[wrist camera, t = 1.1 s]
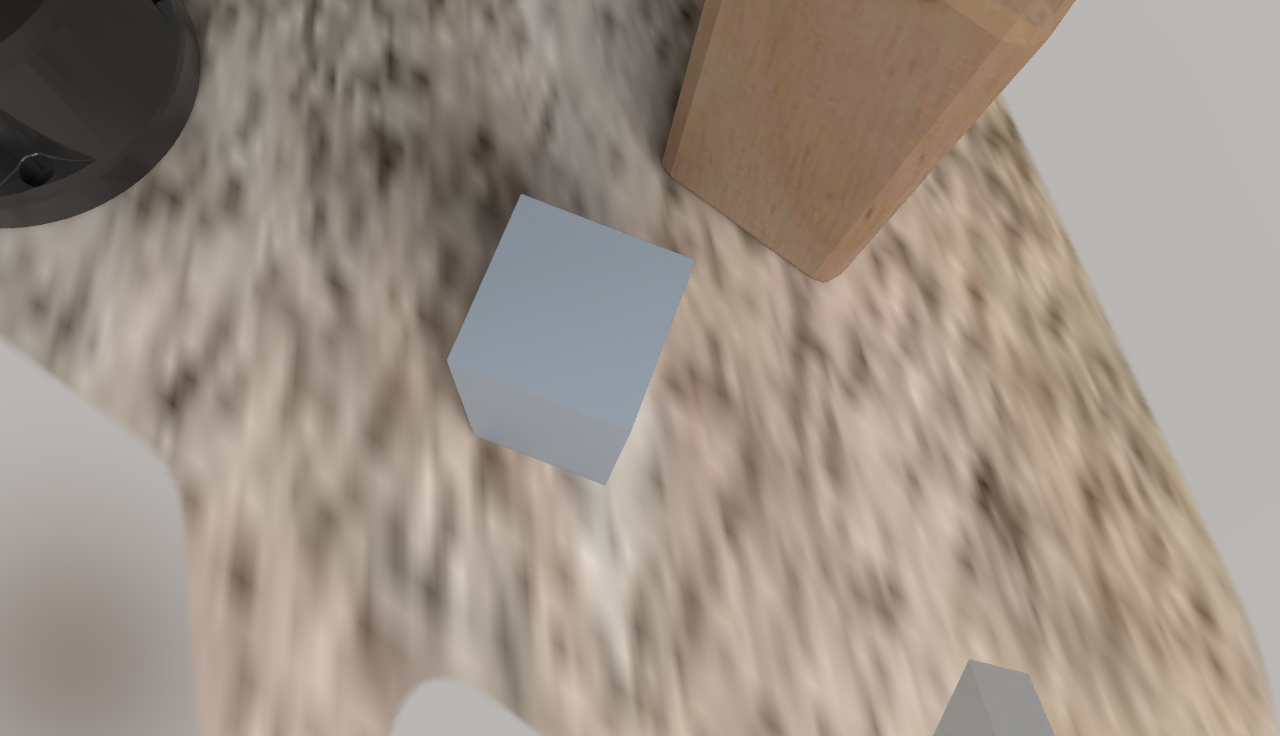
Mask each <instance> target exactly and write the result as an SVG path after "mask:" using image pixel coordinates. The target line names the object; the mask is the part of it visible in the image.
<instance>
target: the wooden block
mask: <svg viewBox="0 0 1280 736" xmlns="http://www.w3.org/2000/svg"><path fill="white" fill-rule="evenodd" d="M1074 2H1075V0H705V3H704V7H703V10H702V14H701V18H700V22H699V25H698V29H697V33H696V37H695V40H694V44H693V48H692V51H691V55H690V59H689V63H688V66H687V70H686V74H685V78H684V81H683V85H682V89H681V92H680V96H679V100H678V104H677V107H676V111H675V115H674V119H673V122H672V126H671V130H670V134H669V137H668V141H667V145H666V148H665V152H664V156H663V160H662V164H663V166H664V168H665V169H666V171H667V172H668V173H669V175H670V176H671V177H672V178H673V179H674V180H676V181H677V182H678V183H680V184H681V185H683V186H684V187H685V188H687V189H688V190H690V191H691V192H692V193H694V194H695V195H696V196H698V197H699V198H701V199H702V200H703V201H705V202H706V203H708V204H709V205H710V206H712V207H713V208H714V209H716V210H717V211H719V212H720V213H721V214H723V215H724V216H726V217H727V218H728V219H730V220H731V221H732V222H734V223H735V224H737V225H738V226H739V227H741V228H742V229H744V230H745V231H746V232H748V233H749V234H750V235H752V236H753V237H755V238H756V239H757V240H759V241H760V242H762V243H763V244H764V245H766V246H767V247H768V248H770V249H771V250H773V251H774V252H775V253H777V254H778V255H780V256H781V257H782V258H784V259H785V260H786V261H788V262H789V263H791V264H792V265H793V266H795V267H796V268H798V269H799V270H800V271H802V272H803V273H804V274H806V275H807V276H809V277H810V278H812V279H815V280H818V281H821V282H828V281H830V280H831V279H833V278H835V277H837V276H838V275H840V274H842V272H843V271H844V270H845V269H846V268H847V267H848V266H849V264H850V263H851V262H852V261H853V260H854V259H855V258H856V257H857V255H858V254H859V253H860V252H861V251H862V250H863V249H864V247H865V246H866V245H867V244H868V243H869V242H870V241H871V239H872V238H873V237H874V236H875V235H876V234H877V233H878V232H879V230H880V229H881V228H882V227H883V226H884V225H885V224H886V222H887V221H888V220H889V219H890V218H891V217H892V216H893V214H894V213H895V212H896V211H897V210H898V209H899V208H900V207H901V205H902V204H903V203H904V202H905V201H906V200H907V199H908V197H909V196H910V195H911V194H912V193H913V192H914V191H915V189H916V188H917V187H918V186H919V185H920V184H921V183H922V181H923V180H924V179H925V178H926V177H927V176H928V175H929V174H930V172H931V171H932V170H933V169H934V168H935V167H936V166H937V164H938V163H939V162H940V161H941V160H942V159H943V158H944V156H945V155H946V154H947V153H948V152H949V151H950V150H951V149H952V147H953V146H954V145H955V144H956V143H957V142H958V141H959V139H960V138H961V137H962V136H963V135H964V134H965V133H966V131H967V130H968V129H969V128H970V127H971V126H972V125H973V124H974V122H975V121H976V120H977V119H978V118H979V117H980V116H981V114H982V113H983V112H984V111H985V110H986V109H987V108H988V106H989V105H990V104H991V103H992V102H993V101H994V100H995V99H996V97H997V96H998V95H999V94H1000V93H1001V92H1002V91H1003V89H1004V88H1005V87H1006V86H1007V85H1008V84H1009V83H1010V81H1011V80H1012V79H1013V78H1014V77H1015V76H1016V75H1017V73H1018V72H1019V71H1020V70H1021V69H1022V68H1023V67H1024V66H1025V64H1026V63H1027V62H1028V61H1029V60H1030V59H1031V58H1032V56H1033V55H1034V54H1035V53H1036V52H1037V51H1038V49H1039V48H1040V47H1041V46H1042V45H1043V44H1044V43H1045V42H1046V40H1047V39H1048V38H1049V37H1050V36H1051V34H1052V33H1053V31H1054V30H1055V29H1056V27H1057V26H1058V24H1059V23H1060V22H1061V20H1062V19H1063V17H1064V16H1065V14H1066V13H1067V12H1068V10H1069V9H1070V8H1071V6H1072V5H1073V3H1074Z"/></svg>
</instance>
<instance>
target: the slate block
mask: <svg viewBox="0 0 1280 736" xmlns="http://www.w3.org/2000/svg"><path fill="white" fill-rule="evenodd" d="M694 262H695V260H693V259H691V258H688V257H686V256H683V255H680V254H678V253H675V252H672V251H670V250H667V249H665V248H662V247H659V246H657V245H654V244H651V243H649V242H646V241H644V240H641V239H638V238H636V237H633V236H631V235H628V234H625V233H623V232H620V231H617V230H615V229H612V228H610V227H607V226H604V225H602V224H599V223H597V222H594V221H591V220H589V219H586V218H583V217H581V216H578V215H576V214H573V213H570V212H568V211H565V210H563V209H560V208H557V207H555V206H552V205H549V204H547V203H544V202H542V201H539V200H536V199H534V198H531V197H529V196H526V195H523V194H521V195H520V198H519V200H518V202H517V204H516V207H515V209H514V211H513V213H512V216H511V218H510V220H509V222H508V225H507V227H506V229H505V231H504V234H503V236H502V238H501V240H500V242H499V245H498V247H497V249H496V251H495V254H494V256H493V258H492V260H491V263H490V265H489V267H488V269H487V272H486V274H485V276H484V278H483V280H482V283H481V285H480V287H479V289H478V292H477V294H476V296H475V298H474V301H473V303H472V305H471V307H470V310H469V312H468V314H467V316H466V319H465V321H464V323H463V325H462V327H461V330H460V332H459V334H458V336H457V339H456V341H455V343H454V345H453V348H452V350H451V352H450V354H449V357H448V359H447V362H448V365H449V368H450V371H451V373H452V376H453V379H454V381H455V384H456V387H457V390H458V392H459V395H460V398H461V400H462V403H463V406H464V409H465V411H466V414H467V417H468V419H469V422H470V425H471V428H472V430H473V433H474V435H475V436H477V437H480V438H483V439H485V440H488V441H490V442H493V443H496V444H498V445H501V446H504V447H506V448H509V449H511V450H514V451H517V452H519V453H522V454H525V455H527V456H530V457H532V458H535V459H538V460H540V461H543V462H546V463H548V464H551V465H553V466H556V467H559V468H561V469H564V470H567V471H569V472H572V473H574V474H577V475H580V476H582V477H585V478H588V479H590V480H593V481H595V482H598V483H601V484H603V485H605V484H606V482H607V480H608V478H609V476H610V474H611V472H612V470H613V468H614V466H615V463H616V461H617V459H618V457H619V455H620V453H621V451H622V449H623V447H624V445H625V443H626V440H627V438H628V436H629V434H630V432H631V430H632V427H633V425H634V422H635V419H636V417H637V414H638V411H639V409H640V406H641V403H642V401H643V398H644V395H645V393H646V390H647V387H648V385H649V382H650V379H651V377H652V374H653V371H654V369H655V366H656V363H657V361H658V358H659V355H660V353H661V350H662V347H663V345H664V342H665V339H666V337H667V334H668V331H669V329H670V326H671V323H672V321H673V318H674V315H675V313H676V310H677V307H678V305H679V302H680V299H681V297H682V294H683V291H684V289H685V286H686V283H687V281H688V278H689V275H690V273H691V270H692V267H693V265H694Z"/></svg>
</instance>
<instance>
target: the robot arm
mask: <svg viewBox="0 0 1280 736" xmlns="http://www.w3.org/2000/svg"><path fill="white" fill-rule="evenodd" d="M199 71H200V57H199V48H198V42H197V37H196V33H195V30H194V27H193V24H192V21H191V19H190V16H189V14H188V12H187V10H186V8H185V6H184V5H183V3H182V1H181V0H0V228H18V227H28V226H35V225H41V224H46V223H51V222H55V221H59V220H63V219H66V218H69V217H72V216H75V215H78V214H81V213H83V212H86V211H88V210H91V209H93V208H95V207H97V206H99V205H101V204H103V203H105V202H107V201H109V200H111V199H113V198H114V197H116V196H118V195H119V194H121V193H122V192H124V191H125V190H127V189H128V188H130V187H131V186H132V185H134V184H135V183H136V182H138V181H139V180H140V179H141V178H143V177H144V176H145V175H146V174H147V173H148V172H149V171H150V170H151V169H152V168H153V167H154V166H155V165H156V164H157V163H158V162H159V161H160V160H161V159H162V158H163V157H164V155H165V154H166V153H167V152H168V151H169V149H170V148H171V147H172V145H173V144H174V142H175V141H176V139H177V138H178V136H179V135H180V133H181V131H182V129H183V127H184V125H185V124H186V122H187V119H188V117H189V115H190V112H191V110H192V107H193V104H194V101H195V97H196V93H197V88H198V82H199ZM933 736H1055V735H1054V733H1053V730H1052V728H1051V726H1050V724H1049V721H1048V719H1047V717H1046V714H1045V712H1044V710H1043V707H1042V705H1041V703H1040V700H1039V698H1038V696H1037V694H1036V691H1035V689H1034V687H1033V684H1032V682H1031V680H1030V677H1029V675H1028V674H1026V673H1022V672H1018V671H1014V670H1010V669H1006V668H1002V667H998V666H994V665H990V664H986V663H982V662H978V661H974V660H970V659H969V661H968V663H967V665H966V667H965V669H964V671H963V673H962V676H961V678H960V680H959V682H958V684H957V686H956V688H955V691H954V693H953V695H952V697H951V699H950V701H949V703H948V706H947V708H946V710H945V712H944V714H943V716H942V718H941V720H940V723H939V725H938V727H937V729H936V731H935V733H934V735H933Z"/></svg>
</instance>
